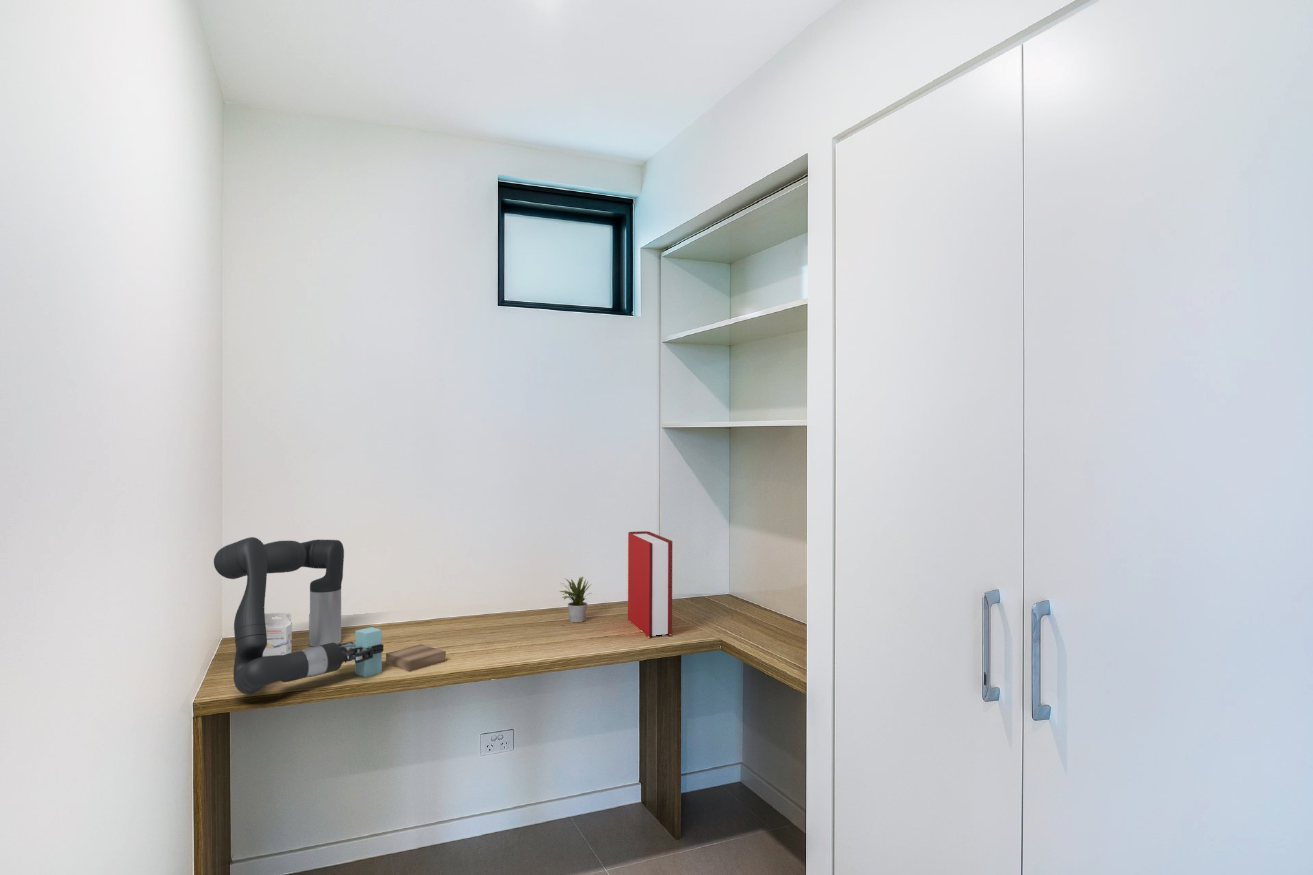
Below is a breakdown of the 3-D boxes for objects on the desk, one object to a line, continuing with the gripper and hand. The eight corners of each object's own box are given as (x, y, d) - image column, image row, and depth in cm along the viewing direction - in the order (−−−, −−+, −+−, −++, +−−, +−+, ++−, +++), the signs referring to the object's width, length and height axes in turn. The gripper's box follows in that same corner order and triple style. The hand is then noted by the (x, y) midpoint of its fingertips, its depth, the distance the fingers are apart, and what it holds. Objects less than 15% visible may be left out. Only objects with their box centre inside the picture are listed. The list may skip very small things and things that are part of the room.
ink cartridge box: (254, 668, 210) (254, 617, 210) (260, 663, 215) (261, 613, 215) (286, 667, 212) (286, 616, 212) (292, 662, 217) (292, 612, 217)
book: (672, 636, 246) (672, 541, 246) (649, 638, 244) (649, 541, 244) (647, 617, 272) (648, 531, 272) (626, 619, 270) (627, 531, 270)
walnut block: (385, 663, 216) (386, 653, 216) (421, 654, 225) (421, 644, 225) (410, 671, 208) (410, 660, 208) (445, 661, 218) (445, 651, 218)
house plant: (560, 615, 275) (561, 571, 275) (597, 615, 275) (597, 571, 275) (554, 624, 261) (554, 578, 261) (592, 625, 261) (593, 579, 261)
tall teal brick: (355, 673, 206) (355, 630, 206) (371, 669, 210) (371, 627, 210) (365, 677, 203) (365, 633, 203) (381, 672, 207) (381, 629, 207)
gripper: (333, 650, 191) (391, 636, 205) (305, 641, 200) (363, 628, 213) (333, 679, 191) (391, 663, 205) (305, 669, 200) (363, 654, 213)
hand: (376, 645), depth 209 cm, fingers closed on tall teal brick, 5 cm apart
